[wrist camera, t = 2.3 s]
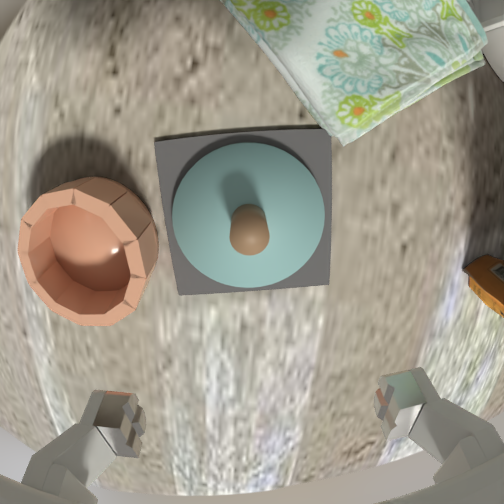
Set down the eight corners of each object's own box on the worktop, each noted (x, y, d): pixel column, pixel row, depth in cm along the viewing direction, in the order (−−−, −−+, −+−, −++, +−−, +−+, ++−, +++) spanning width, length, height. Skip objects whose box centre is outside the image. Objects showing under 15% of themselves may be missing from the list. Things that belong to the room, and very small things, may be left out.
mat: (155, 141, 24) (154, 142, 24) (329, 128, 24) (330, 129, 24) (179, 293, 30) (178, 295, 29) (328, 282, 30) (329, 284, 29)
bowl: (34, 187, 25) (4, 203, 20) (146, 167, 25) (126, 179, 20) (65, 297, 30) (44, 324, 25) (169, 293, 30) (158, 325, 25)
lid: (164, 150, 24) (149, 158, 20) (321, 138, 24) (336, 144, 20) (186, 287, 29) (177, 315, 25) (321, 277, 29) (332, 304, 25)
